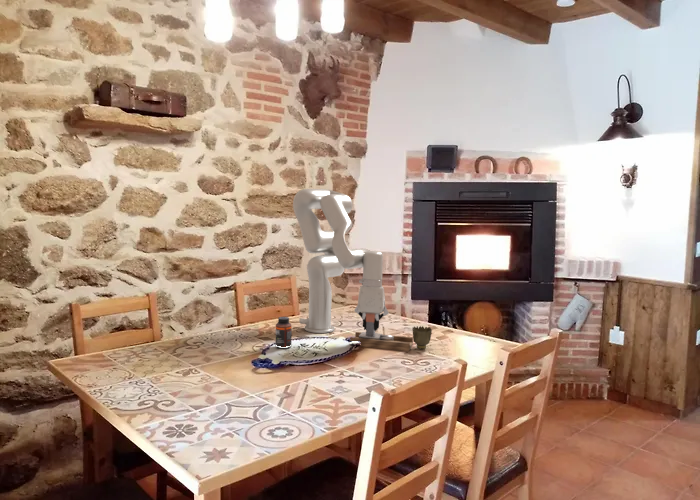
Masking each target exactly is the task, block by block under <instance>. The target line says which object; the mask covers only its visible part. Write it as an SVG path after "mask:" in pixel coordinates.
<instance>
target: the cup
mask: <svg viewBox="0 0 700 500" xmlns="http://www.w3.org/2000/svg"><path fill="white" fill-rule="evenodd" d="M411 329H412V337H413V343H414V344H415V345H416V349H418V350H426V348H427V345H428V344H430V342H431V338H432V332H433V329H432V328H431V326H425V327H424V326H421V325H420V326H419V325H418V326H413V327H412V328H411Z"/></svg>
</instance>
